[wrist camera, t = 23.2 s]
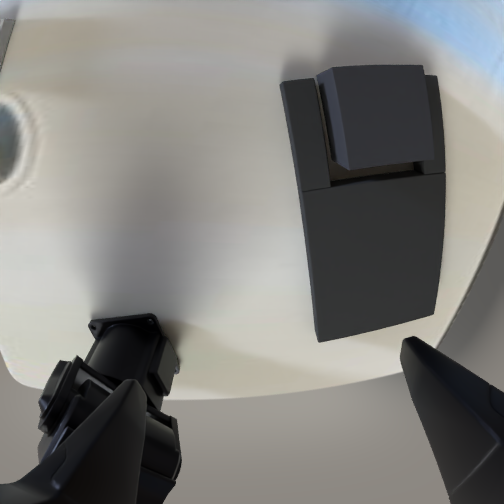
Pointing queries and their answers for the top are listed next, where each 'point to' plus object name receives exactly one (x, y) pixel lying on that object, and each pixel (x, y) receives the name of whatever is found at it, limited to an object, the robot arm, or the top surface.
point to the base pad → (366, 227)
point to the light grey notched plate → (5, 36)
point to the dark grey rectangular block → (377, 115)
